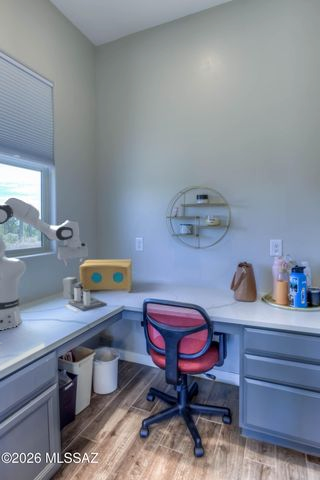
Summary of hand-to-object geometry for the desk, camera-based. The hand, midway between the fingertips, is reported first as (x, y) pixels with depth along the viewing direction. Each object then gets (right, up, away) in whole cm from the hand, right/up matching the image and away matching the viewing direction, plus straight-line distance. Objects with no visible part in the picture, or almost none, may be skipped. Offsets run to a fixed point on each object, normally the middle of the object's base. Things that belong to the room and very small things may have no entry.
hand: (73, 264), depth 184 cm
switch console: (+5, -30, +9) cm, 31 cm away
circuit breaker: (-9, -28, +28) cm, 41 cm away
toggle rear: (-1, -27, +13) cm, 30 cm away
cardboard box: (+13, -26, +51) cm, 59 cm away
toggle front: (+8, -28, +3) cm, 29 cm away
